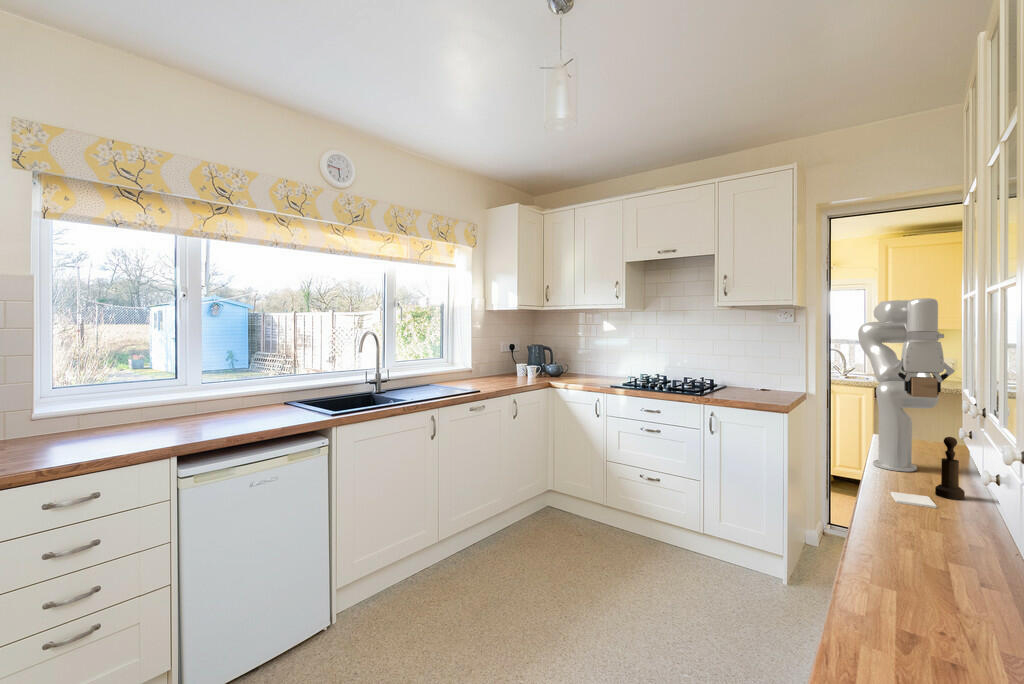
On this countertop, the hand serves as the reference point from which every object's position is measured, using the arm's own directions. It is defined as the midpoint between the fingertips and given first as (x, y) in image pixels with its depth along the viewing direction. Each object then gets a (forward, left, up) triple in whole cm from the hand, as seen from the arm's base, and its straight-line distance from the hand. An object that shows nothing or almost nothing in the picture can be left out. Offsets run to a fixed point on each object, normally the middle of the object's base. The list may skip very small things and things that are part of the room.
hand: (922, 393), depth 154 cm
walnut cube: (0, 0, -1) cm, 1 cm away
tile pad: (+17, -5, -30) cm, 35 cm away
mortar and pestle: (+7, +5, -30) cm, 31 cm away
